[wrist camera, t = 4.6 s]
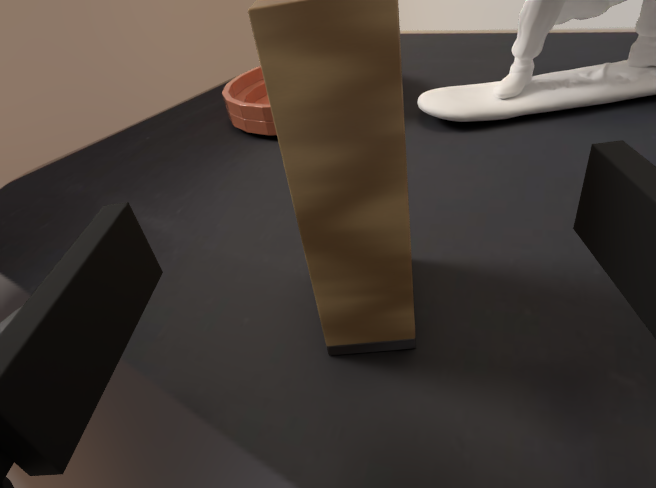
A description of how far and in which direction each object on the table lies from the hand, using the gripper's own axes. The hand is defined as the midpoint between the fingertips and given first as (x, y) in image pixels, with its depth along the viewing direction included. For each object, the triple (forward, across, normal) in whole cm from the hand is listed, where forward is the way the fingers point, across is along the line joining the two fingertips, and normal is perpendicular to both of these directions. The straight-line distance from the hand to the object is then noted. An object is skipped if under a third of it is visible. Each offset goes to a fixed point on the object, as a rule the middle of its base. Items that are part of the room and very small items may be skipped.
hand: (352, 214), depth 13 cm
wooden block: (+4, 0, -7) cm, 8 cm away
